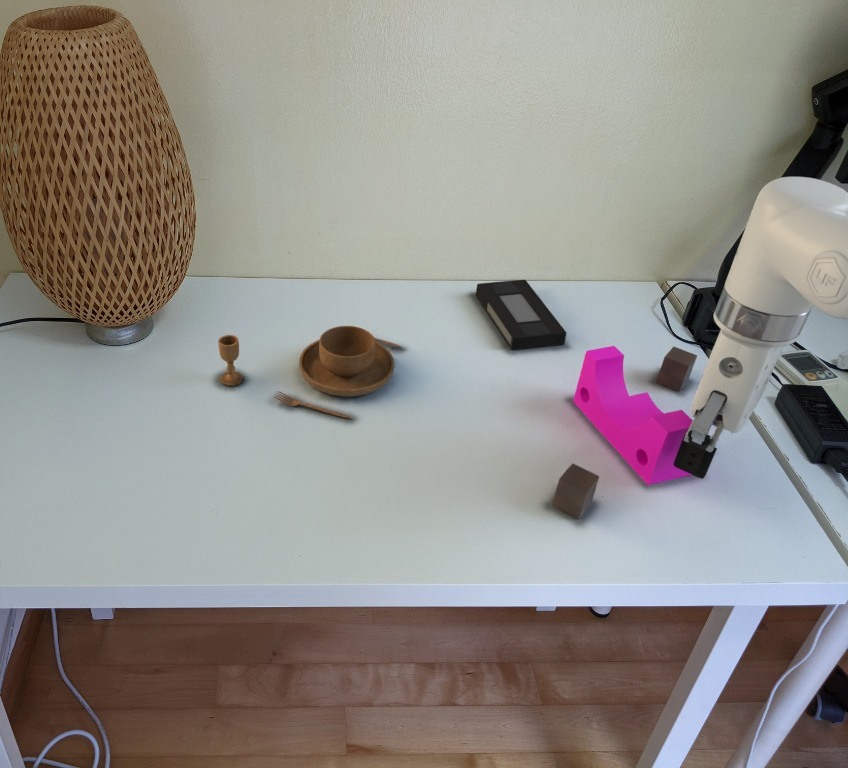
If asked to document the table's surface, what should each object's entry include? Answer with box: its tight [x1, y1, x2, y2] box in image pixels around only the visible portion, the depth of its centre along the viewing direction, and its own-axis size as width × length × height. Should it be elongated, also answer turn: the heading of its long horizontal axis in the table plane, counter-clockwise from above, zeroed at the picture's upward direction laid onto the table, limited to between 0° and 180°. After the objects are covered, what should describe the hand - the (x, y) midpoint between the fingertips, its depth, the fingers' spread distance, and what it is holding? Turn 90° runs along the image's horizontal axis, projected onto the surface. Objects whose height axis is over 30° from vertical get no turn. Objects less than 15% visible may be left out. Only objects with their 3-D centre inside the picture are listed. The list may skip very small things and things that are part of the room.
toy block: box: [573, 345, 694, 486], centre depth 87 cm, size 15×6×8 cm, turn 18°
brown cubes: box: [551, 346, 698, 520], centre depth 88 cm, size 3×31×4 cm, turn 140°
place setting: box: [217, 325, 402, 420], centre depth 97 cm, size 18×20×6 cm
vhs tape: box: [475, 279, 568, 351], centre depth 108 cm, size 8×14×2 cm, turn 11°
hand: (704, 447), depth 83 cm, fingers open, 9 cm apart
